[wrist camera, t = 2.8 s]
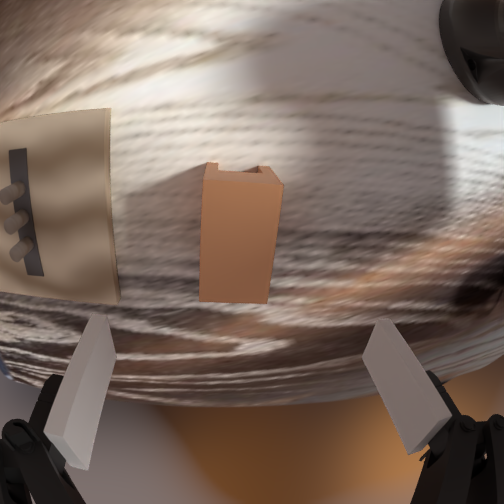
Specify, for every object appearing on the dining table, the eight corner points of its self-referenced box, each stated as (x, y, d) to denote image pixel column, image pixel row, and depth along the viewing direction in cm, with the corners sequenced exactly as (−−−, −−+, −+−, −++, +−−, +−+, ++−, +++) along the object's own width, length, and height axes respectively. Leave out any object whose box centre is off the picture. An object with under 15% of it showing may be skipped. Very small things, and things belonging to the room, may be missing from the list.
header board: (-34, 130, 21) (-59, 137, 17) (110, 107, 23) (92, 109, 19) (-9, 283, 30) (-26, 301, 26) (120, 297, 32) (110, 322, 28)
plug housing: (207, 162, 27) (202, 179, 21) (269, 166, 28) (283, 185, 21) (202, 261, 31) (199, 301, 25) (257, 263, 32) (266, 303, 26)
